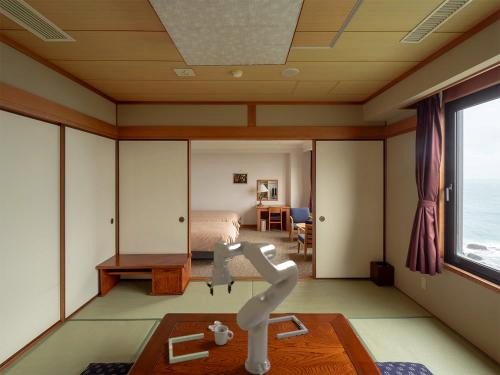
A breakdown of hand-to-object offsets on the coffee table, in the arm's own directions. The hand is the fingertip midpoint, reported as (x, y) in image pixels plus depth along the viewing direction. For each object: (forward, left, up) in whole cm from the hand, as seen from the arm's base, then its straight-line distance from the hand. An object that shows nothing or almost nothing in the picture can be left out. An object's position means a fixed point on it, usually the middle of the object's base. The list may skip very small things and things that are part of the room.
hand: (220, 293), depth 156 cm
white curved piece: (+19, 0, -29) cm, 35 cm away
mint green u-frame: (0, +17, -28) cm, 33 cm away
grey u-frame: (+4, -42, -28) cm, 51 cm away
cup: (0, -2, -28) cm, 29 cm away
